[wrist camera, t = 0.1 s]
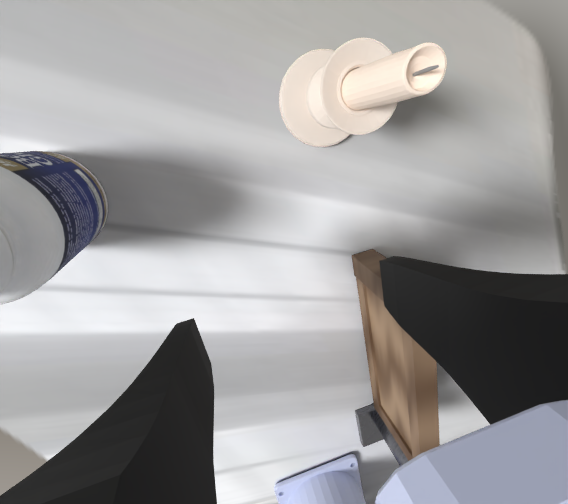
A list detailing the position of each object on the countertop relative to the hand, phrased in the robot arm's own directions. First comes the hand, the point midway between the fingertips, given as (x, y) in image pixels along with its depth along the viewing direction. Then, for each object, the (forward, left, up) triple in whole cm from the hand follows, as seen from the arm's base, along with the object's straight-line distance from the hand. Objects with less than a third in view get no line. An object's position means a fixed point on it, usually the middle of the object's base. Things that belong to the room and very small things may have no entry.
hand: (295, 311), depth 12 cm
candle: (+7, -6, -10) cm, 14 cm away
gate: (-10, -7, -9) cm, 15 cm away
